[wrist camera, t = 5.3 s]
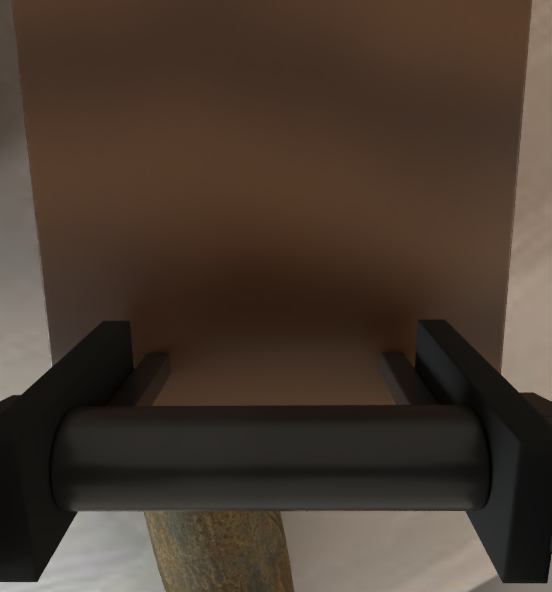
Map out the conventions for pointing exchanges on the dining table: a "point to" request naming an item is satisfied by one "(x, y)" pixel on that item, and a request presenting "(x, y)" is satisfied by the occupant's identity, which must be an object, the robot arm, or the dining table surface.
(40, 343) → the dining table surface
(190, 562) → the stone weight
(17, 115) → the dining table surface
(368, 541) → the dining table surface
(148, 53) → the lid
